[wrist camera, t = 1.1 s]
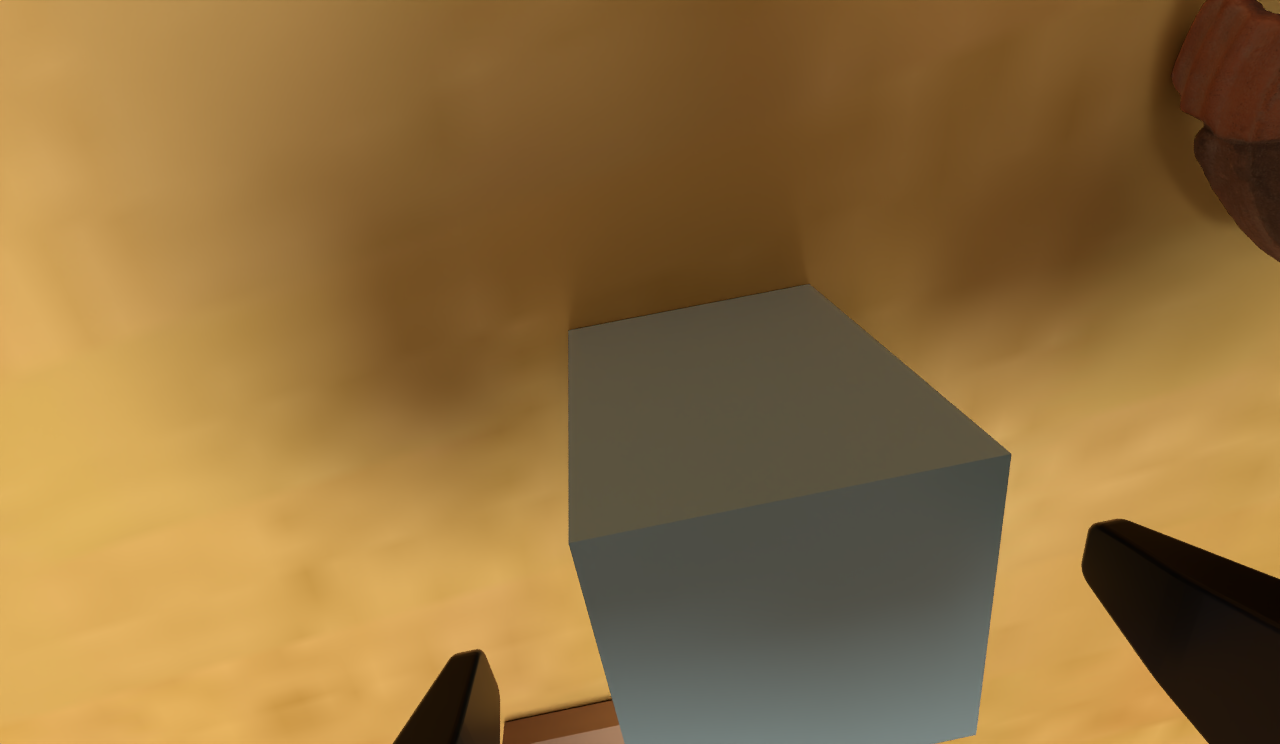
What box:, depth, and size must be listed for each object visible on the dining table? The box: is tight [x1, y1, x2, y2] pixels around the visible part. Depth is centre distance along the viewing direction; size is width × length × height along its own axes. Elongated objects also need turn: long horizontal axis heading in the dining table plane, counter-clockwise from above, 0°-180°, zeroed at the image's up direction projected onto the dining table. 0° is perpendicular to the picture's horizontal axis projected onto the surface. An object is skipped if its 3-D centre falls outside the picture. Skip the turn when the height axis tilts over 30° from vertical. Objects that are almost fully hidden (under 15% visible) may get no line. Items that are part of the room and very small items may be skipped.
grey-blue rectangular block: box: [568, 284, 1011, 744], centre depth 11 cm, size 5×5×7 cm
